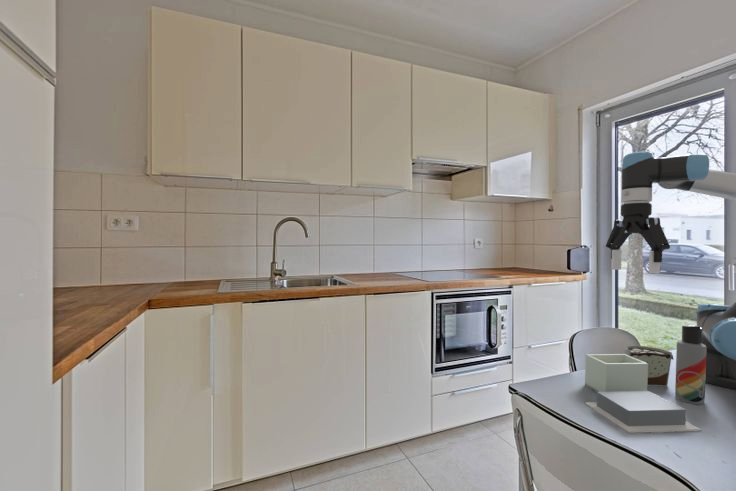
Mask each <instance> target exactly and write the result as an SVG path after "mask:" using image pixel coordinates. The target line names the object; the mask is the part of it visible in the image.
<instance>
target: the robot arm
mask: <svg viewBox="0 0 736 491" xmlns="http://www.w3.org/2000/svg"><path fill="white" fill-rule="evenodd" d="M653 184H658V186H659V187H661V188H663V189H666V190H679V191H686V192H692V193H697V194H702V195H708V196H711V197H716V198H717V197H718V198H722V199H726V200H727V199H728V200H733V201H736V173H734V172H728V171H723V170H722V171H721V170H717V169H712V168H711V169H710V157H709V155H708V154H706V153H690V154H685V155H684V154H682V155H674V156H664V157H655V156H654V153H653V152H652V151H648V150H647V151H642V150H641V151H636V152H635V151H634V152H629V153H627V154H626V155H624V156H623V158H622V164H621V192H620V193H621V194H620V195H621V198H620V200H621V203H622V204H621V206H620V216H622V217H623V218H622V219H615V220H614V222H613V228H612V230H611V233H610V234H609V237H608V239H607V242H606V244H605V248H609V249H610V259H611V270H618V271H619V270H620V271H621V270H622V258H623V257H622V255H623V254H622V252H623V251H622V248H621V247H622V246H623V244H625V242H626V241H627V239H628V238H629V237H630V236H631V235H632V234H639V235H641V237H642V238H643V239H644V241H645V242H646V243H647V245H648V246H649V247H650V251H649V250H648V251H649V252H648V254H649V257H648V258H649V259H648V260H649V261H648V274H651V275H652V274H655V275H659V274H660V273H661V263H662V261H663V252H664V251H666V250H670V248H671V245H670V242H668V239H667V237H666V235H665V232H664V230H663V228H662V226H661V218H660V217H656V216H655V217H651V215H652V213H653V212H652V210H653V209H652V208H653V206H652V203H651V202H653ZM696 309H697V310H696V313H695V314H696V326H700V327H701V328H702V342H701V344H704V345H706V379H705V383H708V384H711V385H715V386H720V387H722V388H723V387H724V388H728V389H729V388H730V389H734V390H736V301H735V302H734V303H733V304H731V305H725V304H724V305H722V304H711V303H700V304H698V305H697V308H696Z"/></svg>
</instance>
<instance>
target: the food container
mask: <svg viewBox="0 0 736 491" xmlns="http://www.w3.org/2000/svg"><path fill="white" fill-rule="evenodd" d="M623 354H626V355H628V356H631V357H633V358H635V359H638V360H640V361H643V362H645V363H648V382H647V386H651V387H652V386H653V387H668V383H669V376H670V369H671V363H672V360H673V361H674V360H675V359H674V355H673V353H672V351H668V350H665V349H663V348H662V349H661V348H657V347H653V346H646V345H627V347H626V348H625V350H624V353H623Z"/></svg>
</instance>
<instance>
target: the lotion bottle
mask: <svg viewBox="0 0 736 491" xmlns="http://www.w3.org/2000/svg"><path fill="white" fill-rule="evenodd" d="M701 342H702V328H701V327H700V326H697V325H692V324H690V325H689V324H688V325H682V326H681V340H678V341H676V354H675V355H676V358H675V384H674V385H675V392H674V393H675V398H676V399H678V400H680V401H682V402H686V403H689V404H693V405H704V404H705V400H706V382H705V379H706V345H704V344H701Z"/></svg>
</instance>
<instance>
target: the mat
mask: <svg viewBox="0 0 736 491" xmlns="http://www.w3.org/2000/svg"><path fill="white" fill-rule="evenodd" d="M585 405H587V406H588V407H589V408H591V409H592V410H594V411H595V412H597V413H598V414H600V415H601V416H603V417H604V418H606V419H607V420H608V421H610V422H611V423H613V424H615V425H616V426H618V427H620V428H621V429H622V430H624V431H625V432H627V433H628V434H632V433H633V434H639V433H640V434H641V433H668V432H669V433H671V432H675V431H676V432H677V433H678V432H701V428H699V427H697V426H695V425H694V424H691V423H690V422H688V421H686V423H685V425H658V426H627V425H626V424H624V423H623V422H621V421H619V420H618V419H616V418H615V417H613V416H612V415H610V414H609V413H607V412H606V411H604V410H603V409H601V408H600V407H598V406H597V401H595V402H594V401H592V402H591V401H589V402H585Z"/></svg>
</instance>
